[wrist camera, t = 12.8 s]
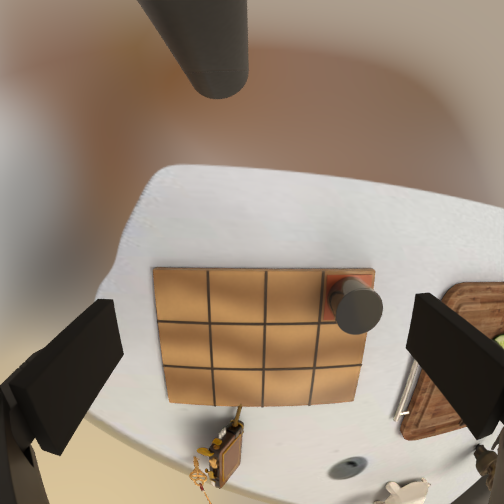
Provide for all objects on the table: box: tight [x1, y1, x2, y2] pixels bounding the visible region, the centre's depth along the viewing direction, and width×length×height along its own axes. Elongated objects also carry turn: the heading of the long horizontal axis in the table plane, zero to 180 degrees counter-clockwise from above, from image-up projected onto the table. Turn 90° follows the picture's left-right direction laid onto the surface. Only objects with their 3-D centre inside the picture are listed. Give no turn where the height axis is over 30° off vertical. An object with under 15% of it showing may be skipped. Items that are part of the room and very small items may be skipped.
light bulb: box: [474, 445, 497, 491], centre depth 35 cm, size 6×6×15 cm
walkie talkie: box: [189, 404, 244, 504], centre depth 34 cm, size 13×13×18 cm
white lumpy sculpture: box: [373, 478, 431, 504], centre depth 40 cm, size 9×8×15 cm
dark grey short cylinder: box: [327, 276, 383, 335], centre depth 31 cm, size 5×5×4 cm
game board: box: [153, 267, 375, 407], centre depth 35 cm, size 18×24×1 cm
